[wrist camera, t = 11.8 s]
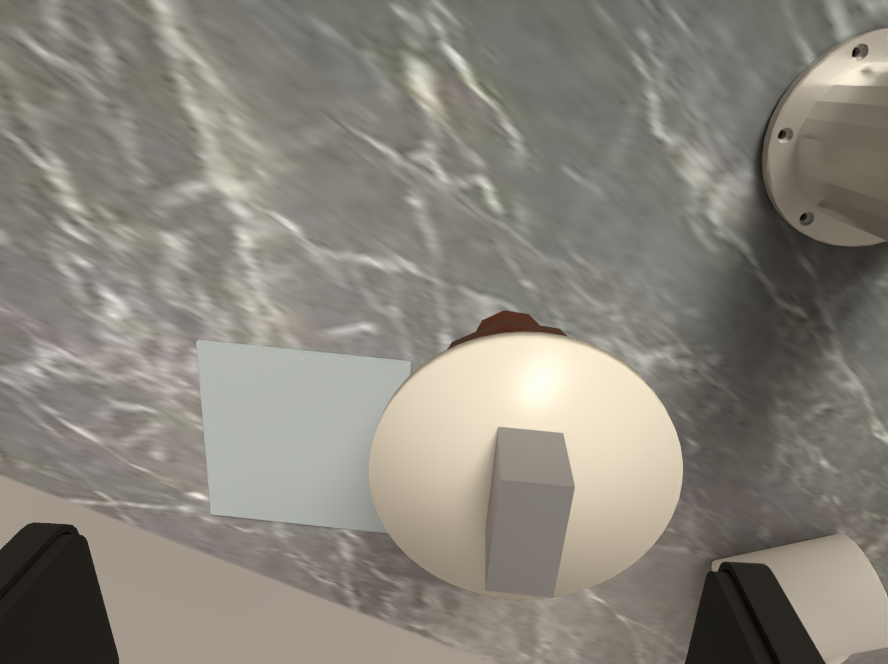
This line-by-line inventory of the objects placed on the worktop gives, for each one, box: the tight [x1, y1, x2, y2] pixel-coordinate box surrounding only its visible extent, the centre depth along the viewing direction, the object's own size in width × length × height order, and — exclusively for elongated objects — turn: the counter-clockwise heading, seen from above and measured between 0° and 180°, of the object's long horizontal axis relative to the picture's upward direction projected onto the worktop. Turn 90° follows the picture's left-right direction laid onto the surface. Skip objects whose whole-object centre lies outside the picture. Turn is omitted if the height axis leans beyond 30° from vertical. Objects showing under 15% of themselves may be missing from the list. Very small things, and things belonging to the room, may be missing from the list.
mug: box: [712, 534, 888, 664], centre depth 47 cm, size 12×10×8 cm
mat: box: [196, 340, 412, 533], centre depth 48 cm, size 16×16×1 cm
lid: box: [368, 332, 683, 599], centre depth 28 cm, size 15×15×5 cm
